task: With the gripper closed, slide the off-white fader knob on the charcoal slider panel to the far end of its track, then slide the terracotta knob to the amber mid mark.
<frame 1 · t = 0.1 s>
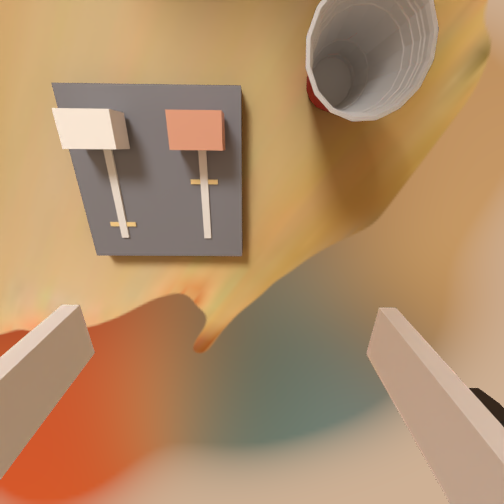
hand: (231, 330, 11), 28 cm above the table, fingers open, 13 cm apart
slider panel: (165, 179, 35), on the table
fader b: (197, 131, 29), point 5 cm above the table, slide at 0.0 cm
fader a: (94, 130, 29), point 5 cm above the table, slide at 0.0 cm
plastic cup: (328, 82, 31), on the table
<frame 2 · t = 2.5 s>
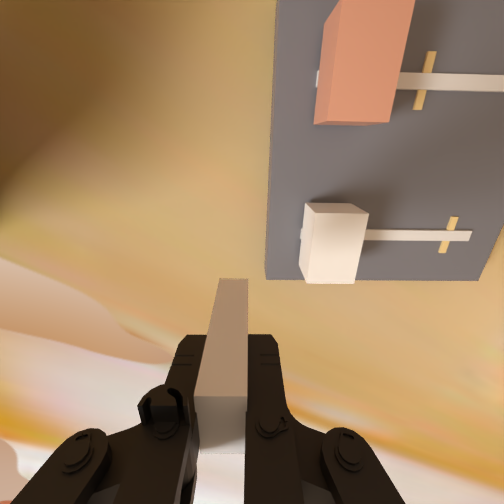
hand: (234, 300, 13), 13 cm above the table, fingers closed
slider panel: (386, 164, 23), on the table
fader b: (355, 72, 16), point 5 cm above the table, slide at 0.0 cm
fader a: (329, 242, 21), point 5 cm above the table, slide at 0.0 cm
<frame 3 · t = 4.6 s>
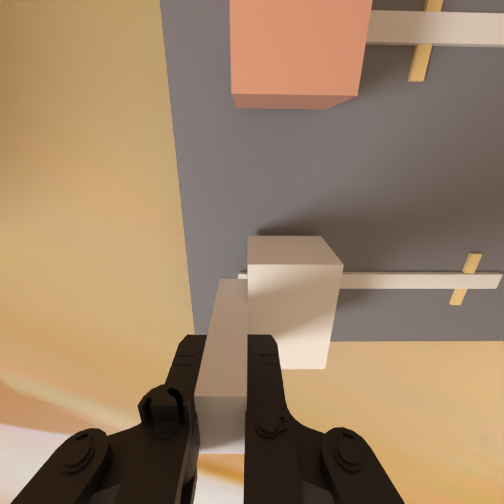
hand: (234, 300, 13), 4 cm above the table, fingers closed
slider panel: (369, 173, 15), on the table
fader a: (285, 300, 13), point 5 cm above the table, slide at 0.6 cm, touching gripper
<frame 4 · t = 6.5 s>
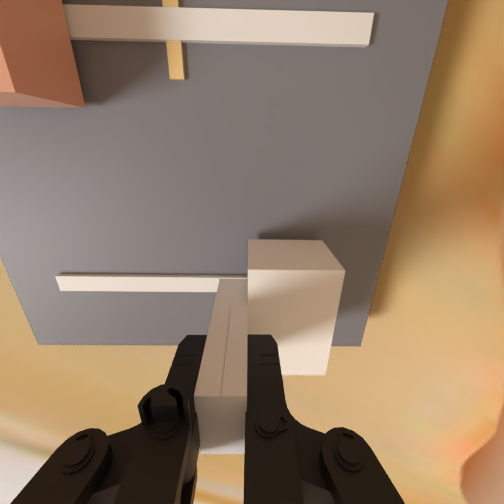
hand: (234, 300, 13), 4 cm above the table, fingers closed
slider panel: (196, 173, 15), on the table
fader a: (285, 305, 13), point 5 cm above the table, slide at 11.1 cm, touching gripper
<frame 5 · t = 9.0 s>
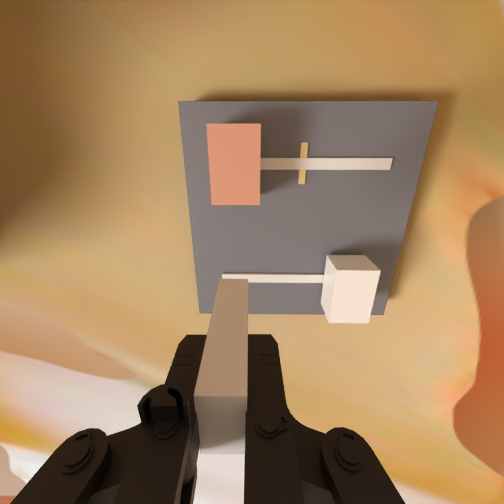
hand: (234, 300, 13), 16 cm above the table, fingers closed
slider panel: (294, 219, 27), on the table
fader b: (236, 165, 21), point 5 cm above the table, slide at 0.0 cm
fader a: (347, 288, 25), point 5 cm above the table, slide at 11.2 cm
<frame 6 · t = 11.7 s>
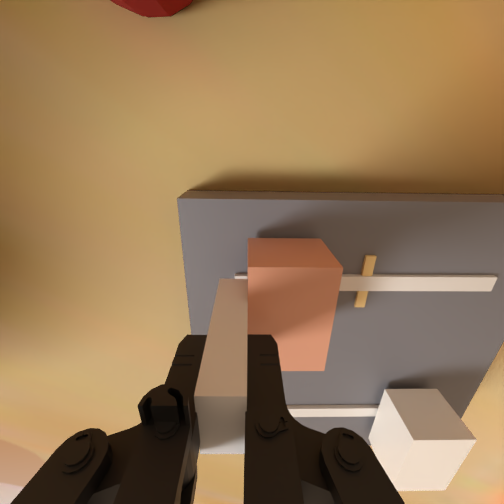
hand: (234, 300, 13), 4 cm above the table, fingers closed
slider panel: (335, 329, 20), on the table
fader b: (284, 302, 13), point 5 cm above the table, slide at 0.8 cm, touching gripper
fader a: (414, 438, 18), point 5 cm above the table, slide at 11.2 cm
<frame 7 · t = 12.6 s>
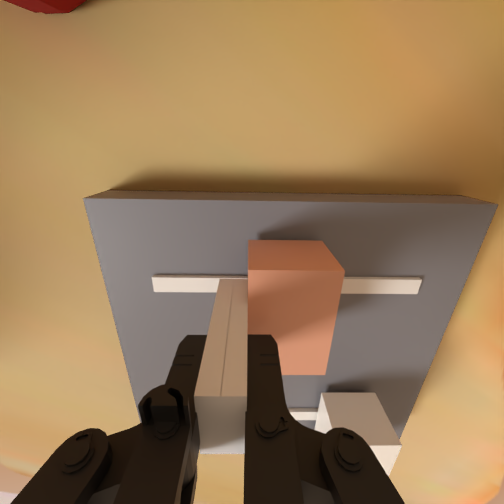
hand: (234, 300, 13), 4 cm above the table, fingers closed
slider panel: (276, 332, 20), on the table
fader b: (285, 305, 13), point 5 cm above the table, slide at 5.6 cm, touching gripper
fader a: (350, 443, 18), point 5 cm above the table, slide at 11.2 cm
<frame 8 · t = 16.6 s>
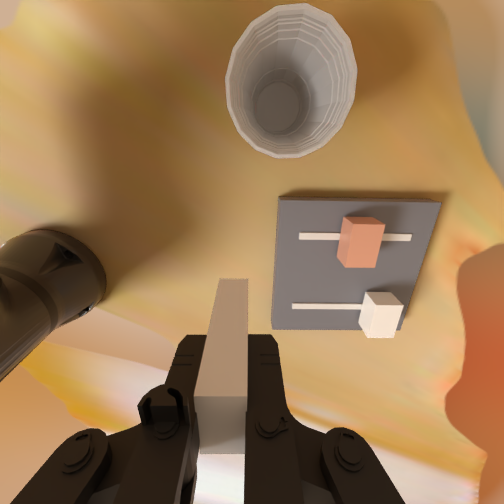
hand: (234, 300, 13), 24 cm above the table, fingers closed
slider panel: (341, 265, 40), on the table
fader b: (358, 241, 33), point 5 cm above the table, slide at 5.7 cm
fader a: (379, 314, 38), point 5 cm above the table, slide at 11.2 cm
plastic cup: (275, 108, 31), on the table
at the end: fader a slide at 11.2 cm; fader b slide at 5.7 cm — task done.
